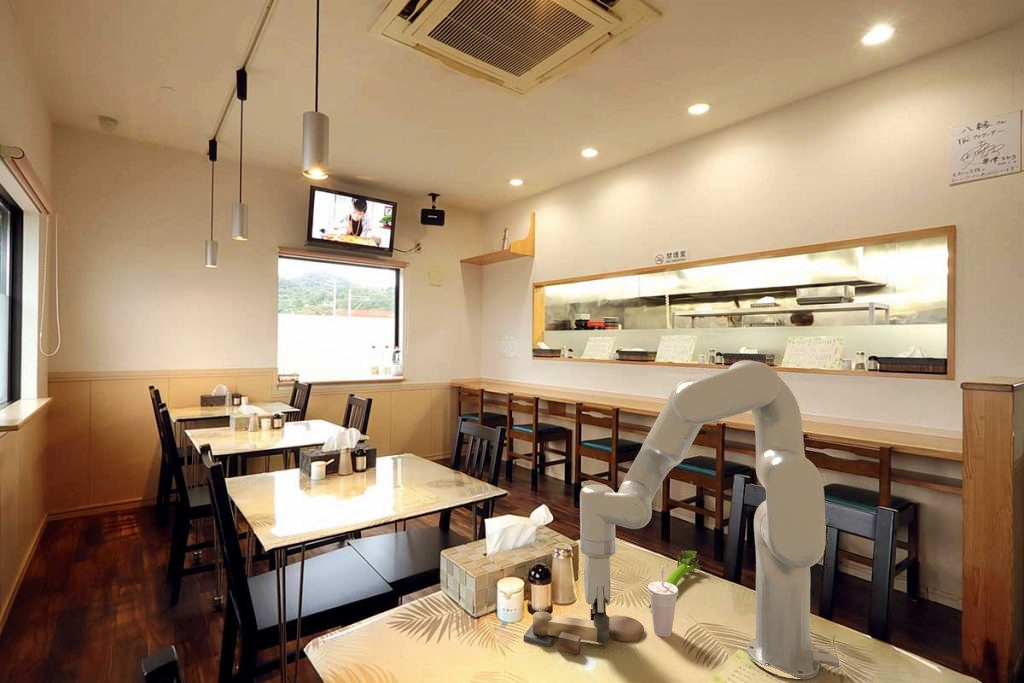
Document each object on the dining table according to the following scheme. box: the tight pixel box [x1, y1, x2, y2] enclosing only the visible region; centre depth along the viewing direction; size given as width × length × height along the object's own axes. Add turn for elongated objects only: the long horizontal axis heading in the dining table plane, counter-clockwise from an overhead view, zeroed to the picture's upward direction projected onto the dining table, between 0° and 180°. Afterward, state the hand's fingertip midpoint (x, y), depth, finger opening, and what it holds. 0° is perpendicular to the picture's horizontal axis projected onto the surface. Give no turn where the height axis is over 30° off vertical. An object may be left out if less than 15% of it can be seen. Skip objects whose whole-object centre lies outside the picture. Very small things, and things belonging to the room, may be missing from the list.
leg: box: [532, 610, 610, 644], centre depth 108 cm, size 16×4×4 cm, turn 76°
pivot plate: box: [523, 623, 559, 648], centre depth 109 cm, size 6×6×1 cm
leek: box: [648, 550, 701, 609], centre depth 132 cm, size 6×7×30 cm
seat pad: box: [609, 615, 645, 643], centre depth 112 cm, size 9×9×1 cm
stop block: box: [557, 632, 582, 658], centre depth 104 cm, size 4×2×3 cm, turn 65°
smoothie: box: [647, 565, 679, 638], centre depth 111 cm, size 6×6×14 cm
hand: (598, 629), depth 111 cm, fingers closed
